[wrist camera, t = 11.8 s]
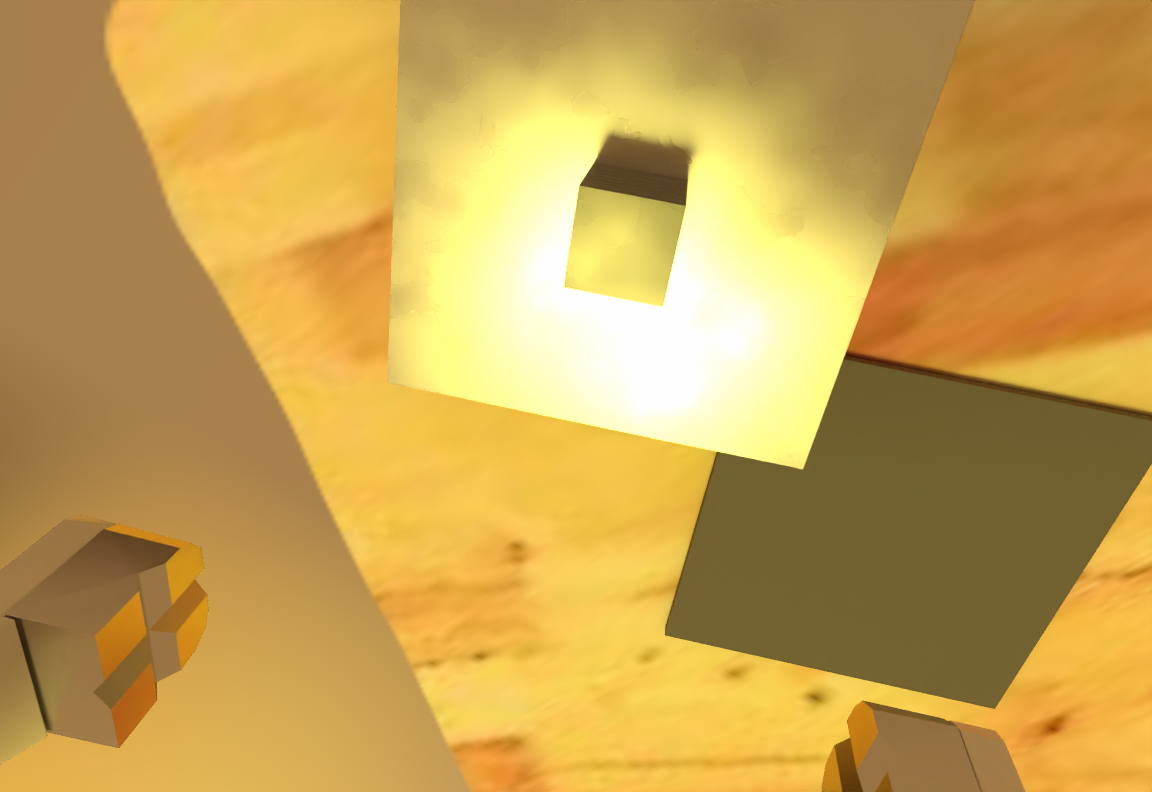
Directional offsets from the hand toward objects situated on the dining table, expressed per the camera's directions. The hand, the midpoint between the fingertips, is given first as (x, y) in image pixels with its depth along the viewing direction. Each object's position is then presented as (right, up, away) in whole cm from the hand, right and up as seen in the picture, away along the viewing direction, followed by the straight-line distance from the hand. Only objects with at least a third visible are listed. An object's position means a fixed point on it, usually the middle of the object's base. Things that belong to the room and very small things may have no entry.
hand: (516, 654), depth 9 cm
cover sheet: (+3, +9, +16) cm, 18 cm away
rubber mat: (+16, -4, +27) cm, 32 cm away
